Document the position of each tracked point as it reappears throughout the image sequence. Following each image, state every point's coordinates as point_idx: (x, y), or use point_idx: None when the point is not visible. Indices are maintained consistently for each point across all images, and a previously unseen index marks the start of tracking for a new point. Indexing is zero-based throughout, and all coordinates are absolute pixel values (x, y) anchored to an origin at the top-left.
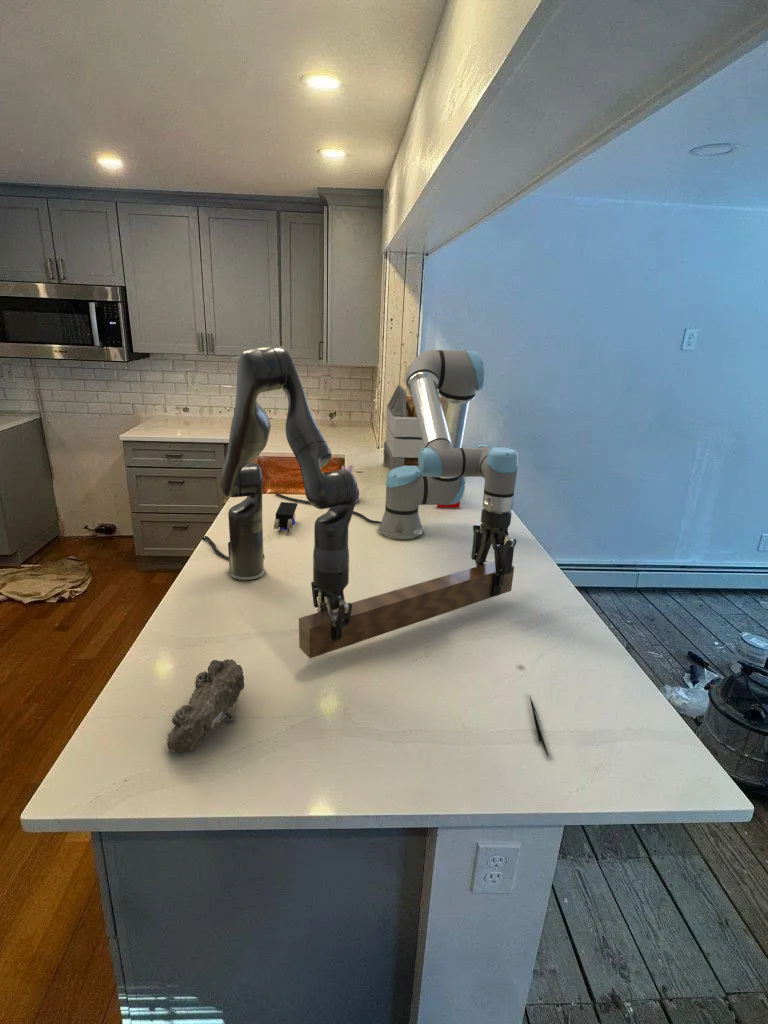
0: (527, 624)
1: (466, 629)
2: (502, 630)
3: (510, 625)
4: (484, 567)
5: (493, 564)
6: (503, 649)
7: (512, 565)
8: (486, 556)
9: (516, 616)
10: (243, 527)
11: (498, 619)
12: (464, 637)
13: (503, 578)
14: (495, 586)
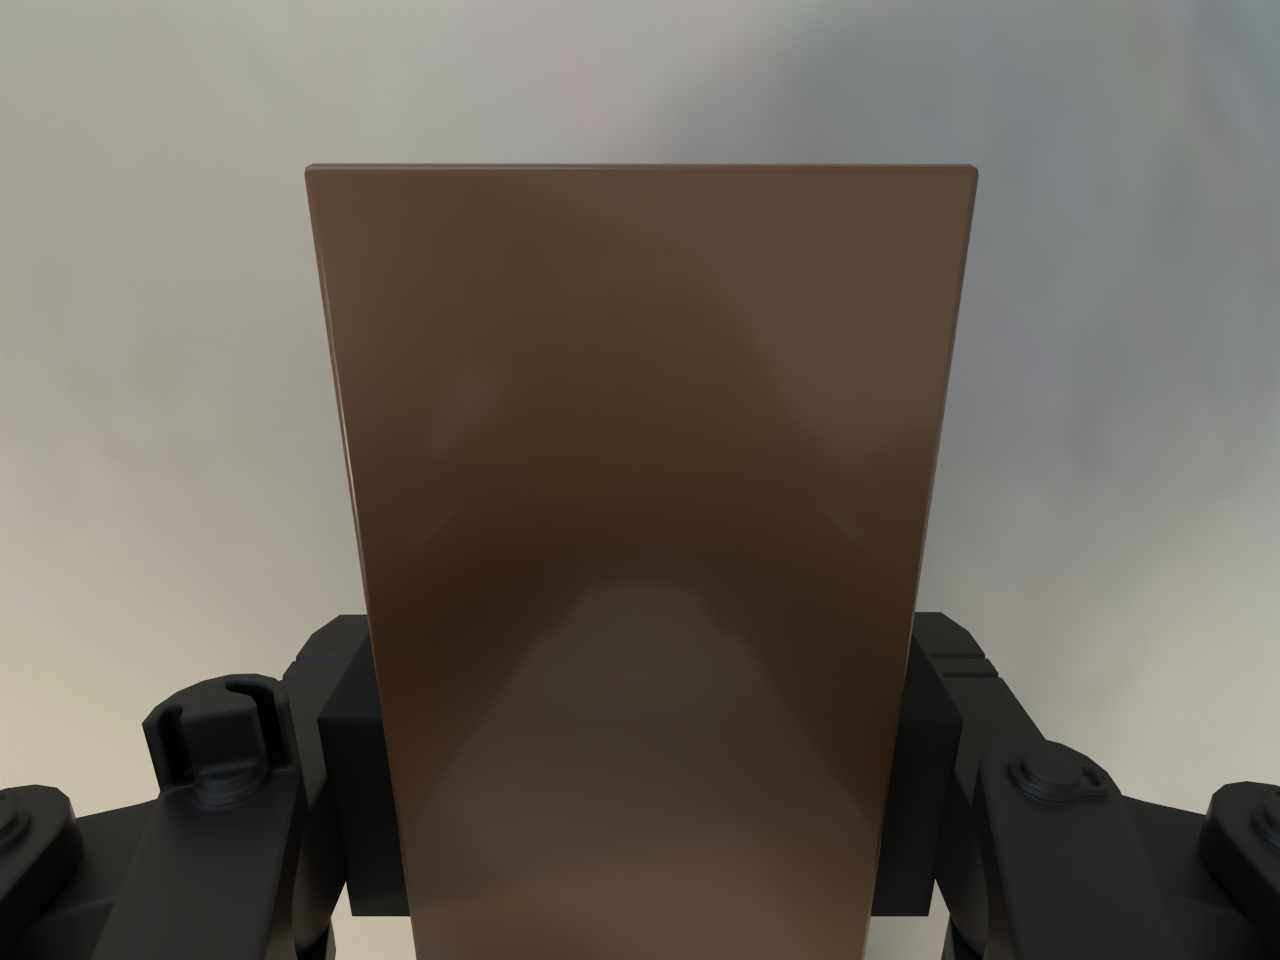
0: (1194, 355)
1: None
2: (1070, 650)
3: (1072, 526)
4: (544, 923)
5: (511, 649)
6: None
7: (893, 174)
8: (269, 957)
9: (1008, 331)
10: None
11: None
12: (921, 941)
13: (1021, 714)
14: None
